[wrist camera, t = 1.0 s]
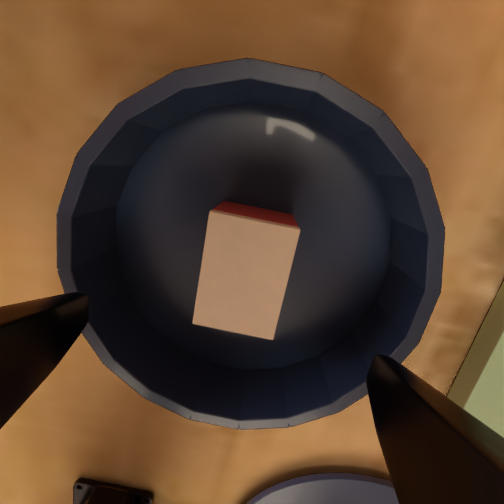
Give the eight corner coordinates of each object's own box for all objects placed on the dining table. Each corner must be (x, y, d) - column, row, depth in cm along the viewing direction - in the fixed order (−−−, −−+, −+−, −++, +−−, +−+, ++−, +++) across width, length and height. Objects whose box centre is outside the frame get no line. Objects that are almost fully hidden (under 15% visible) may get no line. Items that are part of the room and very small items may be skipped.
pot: (349, 394, 20) (371, 457, 16) (102, 344, 20) (57, 393, 16) (446, 127, 15) (518, 111, 11) (116, 59, 15) (53, 17, 11)
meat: (272, 303, 18) (273, 340, 14) (208, 289, 18) (191, 324, 14) (293, 214, 16) (300, 229, 12) (223, 200, 16) (209, 210, 12)
